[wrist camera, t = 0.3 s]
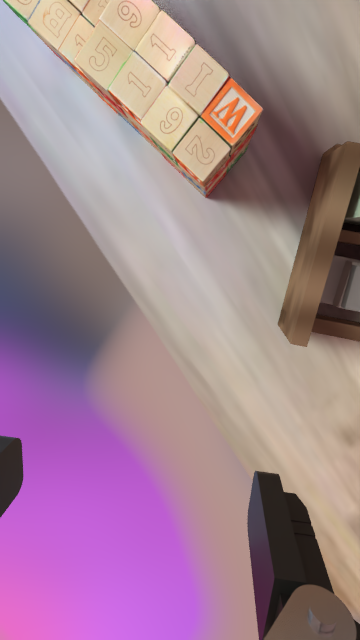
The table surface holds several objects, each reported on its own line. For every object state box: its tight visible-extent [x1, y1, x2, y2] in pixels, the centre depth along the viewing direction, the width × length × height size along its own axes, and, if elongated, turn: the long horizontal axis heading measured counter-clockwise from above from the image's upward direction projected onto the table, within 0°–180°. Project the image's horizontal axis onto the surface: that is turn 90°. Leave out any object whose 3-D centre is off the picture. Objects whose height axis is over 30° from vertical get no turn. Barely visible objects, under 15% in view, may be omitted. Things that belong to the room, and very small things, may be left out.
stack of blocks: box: [3, 0, 263, 198], centre depth 29 cm, size 21×6×12 cm, turn 48°
